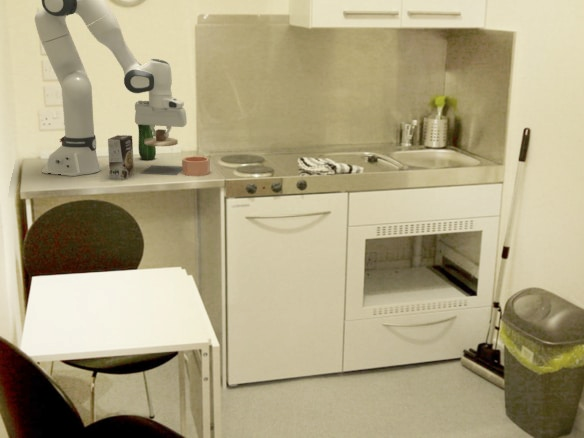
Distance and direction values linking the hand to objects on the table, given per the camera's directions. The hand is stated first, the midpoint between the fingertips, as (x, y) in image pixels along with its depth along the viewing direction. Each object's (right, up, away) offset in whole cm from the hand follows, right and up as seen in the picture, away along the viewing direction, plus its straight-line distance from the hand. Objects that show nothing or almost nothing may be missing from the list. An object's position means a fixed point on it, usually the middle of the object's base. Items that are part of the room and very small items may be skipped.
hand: (160, 136), depth 296 cm
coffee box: (-13, -17, -8) cm, 23 cm away
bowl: (+14, -15, 0) cm, 20 cm away
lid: (0, -2, +1) cm, 2 cm away
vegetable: (-10, -8, +24) cm, 27 cm away
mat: (0, -13, +4) cm, 14 cm away
